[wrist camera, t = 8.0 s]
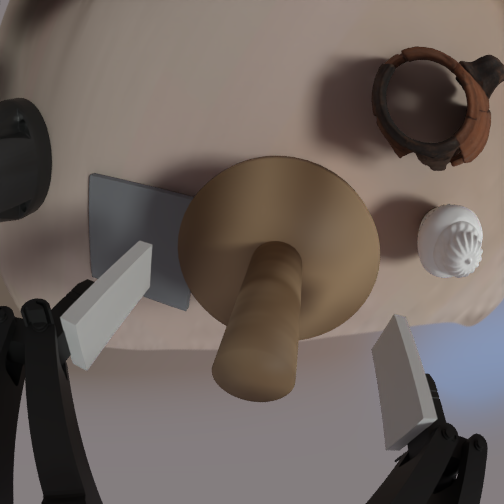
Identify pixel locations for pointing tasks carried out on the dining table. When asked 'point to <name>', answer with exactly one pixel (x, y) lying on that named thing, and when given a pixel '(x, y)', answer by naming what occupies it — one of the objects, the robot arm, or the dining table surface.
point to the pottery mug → (477, 118)
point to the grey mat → (138, 232)
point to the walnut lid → (275, 265)
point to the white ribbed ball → (450, 241)
